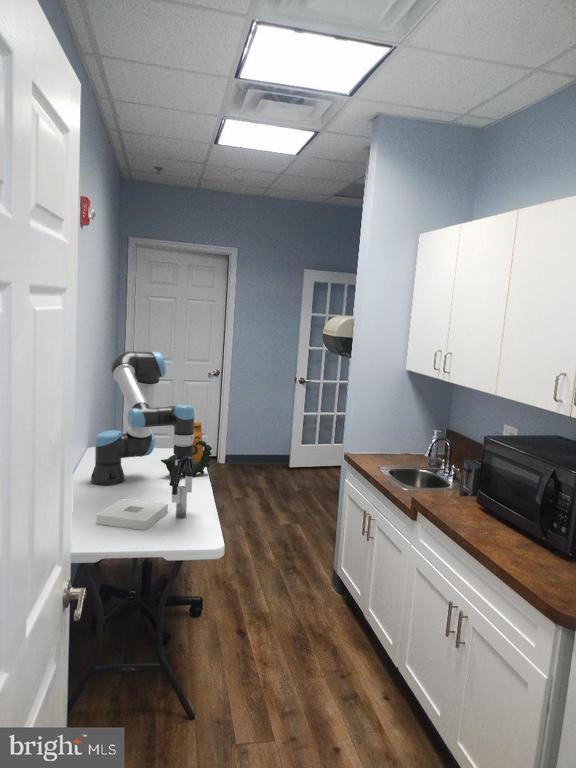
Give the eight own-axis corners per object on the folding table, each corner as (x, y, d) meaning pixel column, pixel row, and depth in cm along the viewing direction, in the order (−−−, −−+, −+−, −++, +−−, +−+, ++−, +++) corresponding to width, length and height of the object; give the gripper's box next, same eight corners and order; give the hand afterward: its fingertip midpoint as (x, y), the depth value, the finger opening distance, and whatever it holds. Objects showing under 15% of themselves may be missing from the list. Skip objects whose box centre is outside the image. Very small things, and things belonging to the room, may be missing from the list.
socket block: (122, 506, 225) (122, 498, 224) (167, 512, 221) (167, 503, 221) (96, 523, 205) (96, 514, 205) (145, 530, 202) (146, 521, 201)
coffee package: (203, 463, 297) (204, 424, 295) (180, 463, 294) (181, 423, 292) (202, 459, 307) (203, 420, 304) (179, 459, 304) (180, 420, 301)
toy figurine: (204, 475, 282) (156, 474, 271) (209, 439, 281) (161, 437, 269) (210, 480, 274) (160, 479, 262) (215, 443, 272) (165, 441, 261)
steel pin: (178, 514, 219) (179, 485, 218) (187, 515, 219) (188, 486, 217) (174, 517, 215) (175, 488, 214) (183, 519, 215) (184, 489, 213)
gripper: (180, 452, 201) (178, 507, 203) (203, 439, 225) (201, 489, 227) (161, 450, 202) (160, 505, 204) (186, 437, 226) (184, 487, 229)
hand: (182, 497), depth 216 cm, fingers open, 13 cm apart
